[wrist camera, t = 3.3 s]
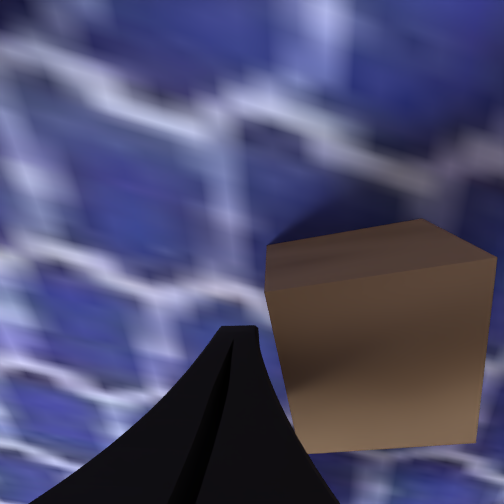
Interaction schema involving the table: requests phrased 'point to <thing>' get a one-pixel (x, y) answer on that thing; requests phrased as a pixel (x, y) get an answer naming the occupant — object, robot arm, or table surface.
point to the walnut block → (381, 335)
